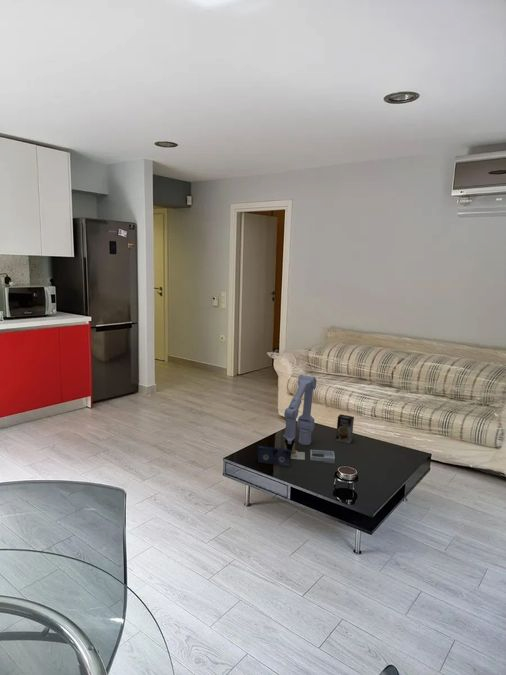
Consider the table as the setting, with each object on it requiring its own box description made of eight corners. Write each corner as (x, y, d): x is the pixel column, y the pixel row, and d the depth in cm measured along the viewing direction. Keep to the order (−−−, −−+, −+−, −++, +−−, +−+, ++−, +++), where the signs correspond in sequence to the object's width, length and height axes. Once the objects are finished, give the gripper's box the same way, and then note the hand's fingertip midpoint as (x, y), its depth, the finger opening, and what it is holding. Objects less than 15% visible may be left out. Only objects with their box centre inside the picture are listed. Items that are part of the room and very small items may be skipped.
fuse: (284, 453, 264) (284, 441, 263) (294, 453, 263) (295, 442, 262) (283, 455, 261) (284, 443, 260) (294, 456, 260) (294, 444, 259)
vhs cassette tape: (290, 466, 250) (291, 449, 248) (289, 469, 247) (290, 451, 245) (258, 461, 254) (259, 445, 253) (257, 464, 252) (257, 447, 250)
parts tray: (310, 454, 266) (310, 449, 265) (333, 456, 265) (333, 451, 264) (310, 461, 256) (310, 456, 256) (334, 463, 255) (334, 458, 254)
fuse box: (274, 451, 268) (274, 447, 268) (304, 453, 266) (304, 449, 266) (273, 458, 258) (273, 454, 258) (304, 461, 257) (304, 457, 256)
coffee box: (335, 440, 287) (337, 416, 285) (338, 437, 293) (340, 413, 290) (349, 443, 283) (351, 419, 281) (352, 440, 289) (354, 416, 286)
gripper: (284, 423, 267) (283, 445, 269) (282, 432, 253) (281, 455, 255) (296, 424, 266) (294, 446, 269) (295, 433, 252) (294, 456, 254)
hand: (289, 450), depth 262 cm, fingers closed on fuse, 3 cm apart
